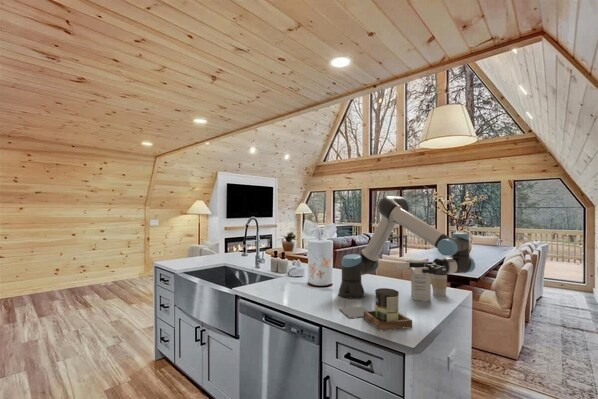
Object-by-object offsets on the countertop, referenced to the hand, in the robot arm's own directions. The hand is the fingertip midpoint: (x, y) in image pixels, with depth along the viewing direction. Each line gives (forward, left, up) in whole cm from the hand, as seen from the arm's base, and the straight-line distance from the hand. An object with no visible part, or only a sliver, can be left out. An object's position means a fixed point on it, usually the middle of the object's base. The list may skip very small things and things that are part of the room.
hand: (405, 268), depth 141 cm
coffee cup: (-32, +45, -24) cm, 60 cm away
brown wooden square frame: (0, -10, -24) cm, 26 cm away
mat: (-15, -18, -24) cm, 33 cm away
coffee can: (0, -10, -24) cm, 26 cm away
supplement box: (-28, +29, -24) cm, 47 cm away
